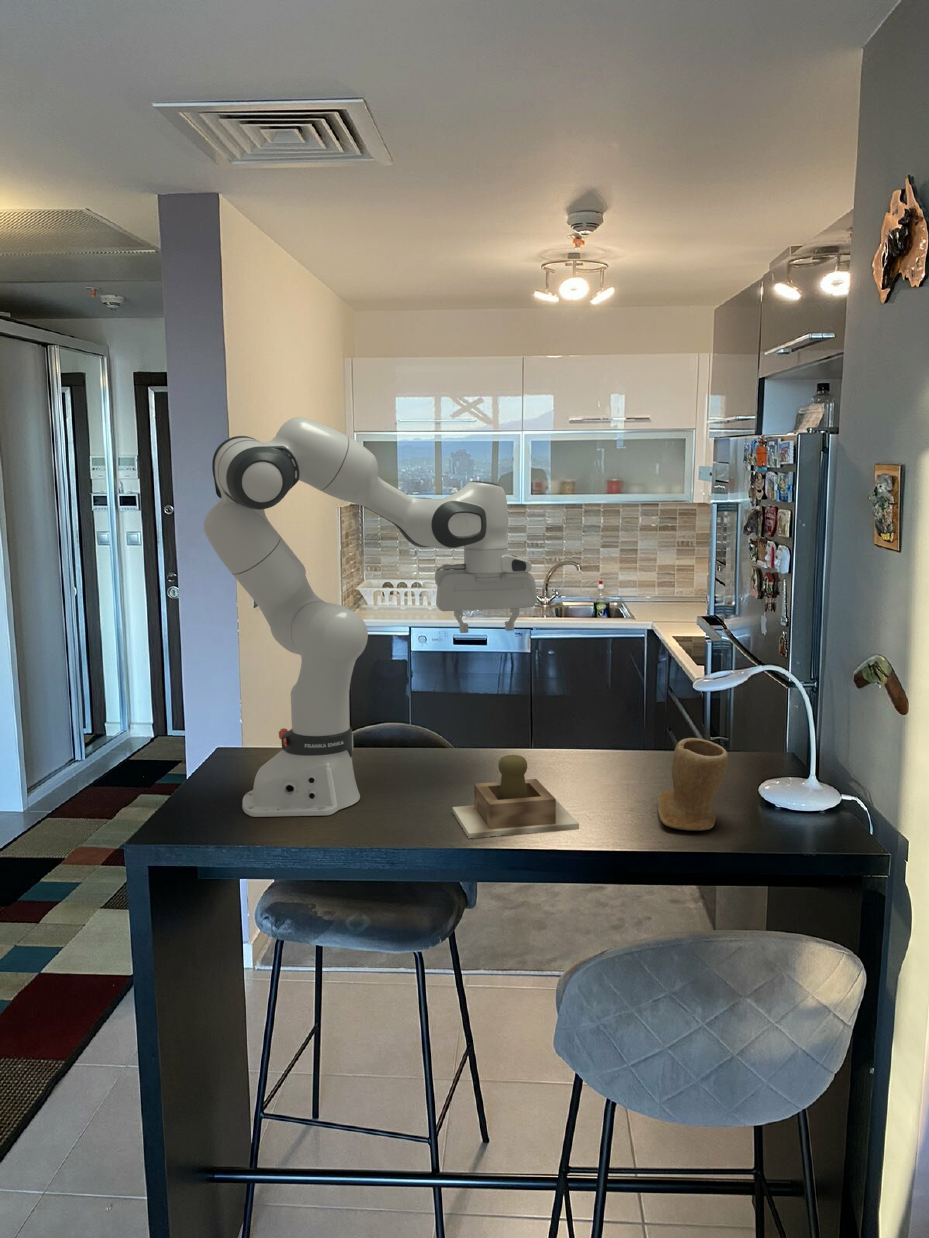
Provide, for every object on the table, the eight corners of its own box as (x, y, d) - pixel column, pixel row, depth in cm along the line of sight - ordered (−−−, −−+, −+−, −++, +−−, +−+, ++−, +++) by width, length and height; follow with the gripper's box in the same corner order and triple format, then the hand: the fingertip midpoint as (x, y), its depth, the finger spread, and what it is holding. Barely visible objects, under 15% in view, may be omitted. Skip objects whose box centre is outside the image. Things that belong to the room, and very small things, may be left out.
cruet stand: (468, 838, 166) (468, 808, 166) (452, 812, 180) (452, 783, 179) (579, 828, 171) (579, 798, 170) (554, 803, 184) (554, 775, 183)
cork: (521, 807, 179) (521, 750, 177) (535, 818, 173) (535, 759, 172) (491, 811, 177) (491, 753, 175) (503, 822, 171) (503, 762, 170)
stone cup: (728, 838, 166) (731, 753, 163) (657, 833, 168) (659, 750, 166) (722, 808, 180) (724, 730, 178) (657, 805, 183) (659, 728, 180)
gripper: (438, 566, 187) (439, 636, 189) (539, 562, 191) (539, 631, 193) (432, 563, 193) (433, 631, 195) (530, 560, 197) (530, 627, 199)
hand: (486, 631), depth 194 cm, fingers open, 8 cm apart
